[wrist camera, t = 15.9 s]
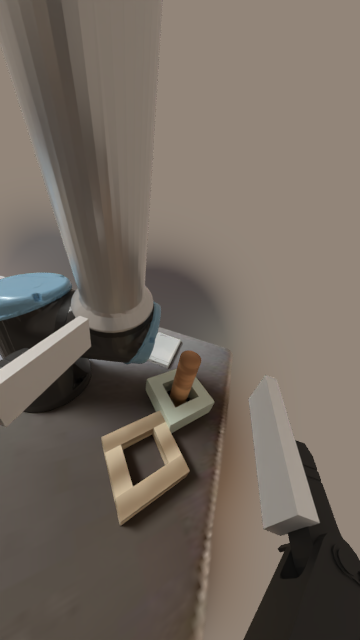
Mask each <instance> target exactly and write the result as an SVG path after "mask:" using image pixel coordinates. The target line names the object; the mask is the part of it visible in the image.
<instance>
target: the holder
mask: <svg viewBox="0 0 360 640" xmlns="http://www.w3.org/2000/svg"><path fill="white" fill-rule="evenodd" d="M150 435H153V438H154V440H155V442H156V445H157V447H158V449H159V452H160V454H161V457H162V459H163V461H164V464H165V466H164V467H162V468H161V469H159V470H158V471H156V472H155V473H153V474H152V475H150V476H149V477H147V478H146V479H144V480H142V481H141V482H139V483H138V484H136V485H135V486H133V485H132V481H131V478H130V475H129V471H128V468H127V464H126V461H125V457H124V454H123V449H125V448H127V447H129V446H131V445H133V444H135V443H137V442H139V441H141V440H142V439H144V438H146V437H148V436H150ZM102 446H103V450H104V455H105V459H106V464H107V469H108V473H109V478H110V482H111V487H112V491H113V496H114V500H115V505H116V510H117V514H118V519H119V523H120V526H121V525H122V524H124V523H125V522H126V521H128V520H129V519H130V518H132V517H133V516H134V515H136V514H137V513H138V512H140V511H141V510H142V509H144V508H145V507H146V506H148V505H149V504H150V503H152V502H153V501H154V500H156V499H157V498H158V497H160V496H161V495H162V494H164V493H165V492H166V491H168V490H169V489H170V488H172V487H173V486H174V485H176V484H177V483H178V482H180V481H181V480H182V479H184V478H185V477H186V476H187V475H188V473H189V472H190V470H189V468H188V466H187V464H186V462H185V460H184V458H183V456H182V454H181V452H180V450H179V448H178V446H177V444H176V442H175V440H174V438H173V436H172V434H171V432H170V430H169V428H168V426H167V424H166V422H165V420H164V418H163V416H162V414H161V411H160V410H159V411H157V412H155V413H153V414H151V415H149V416H146V417H144V418H142V419H140V420H138V421H136V422H133V423H131V424H129V425H127V426H125V427H123V428H120V429H118V430H116V431H114V432H112V433H110V434H107V435H105V436H103V437H102Z"/></svg>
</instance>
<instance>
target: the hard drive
mask: <svg viewBox="0 0 360 640" xmlns="http://www.w3.org/2000/svg"><path fill="white" fill-rule="evenodd" d="M180 343H181V340H179V339H176V338H174V337H171V336H168V335H165V334H162V333H158V334H157V336H156V339H155V344H154V348H153V351H152V353H151V356H150V358H149V359H148V360H147V361H149V362H152V363H154V364H157V365H160V366H162V367H165V368H167V369H168V367H169V365H170V363H171V361H172V359H173V357H174V355H175V353H176V351H177V349H178V347H179V345H180Z"/></svg>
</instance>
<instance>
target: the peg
mask: <svg viewBox="0 0 360 640" xmlns="http://www.w3.org/2000/svg"><path fill="white" fill-rule="evenodd" d="M200 363H201V358H200V356H199V355H198V354H197V353H195V352H193V351H184V352H183V353H182V354H181V356H180V360H179V363H178V367H177V370H176V374H175V377H174V381H173V385H172V388H171V392H170V395H169V397H170V399H171V401H172V402H173V404H174V406H175V408H176V407H178V406H180V405H182V404H184V403H186V400H187V398H188V395H189V392H190V390H191V387H192V385H193V382H194V379H195V377H196V374H197V371H198V369H199V366H200Z"/></svg>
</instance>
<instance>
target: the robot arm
mask: <svg viewBox="0 0 360 640" xmlns="http://www.w3.org/2000/svg"><path fill="white" fill-rule="evenodd" d="M162 1H163V0H0V45H1V49H2V52H3V55H4V58H5V61H6V65H7V68H8V71H9V74H10V77H11V80H12V83H13V86H14V90H15V93H16V96H17V99H18V102H19V105H20V108H21V112H22V115H23V118H24V121H25V124H26V127H27V130H28V134H29V137H30V140H31V143H32V146H33V149H34V152H35V156H36V159H37V162H38V165H39V168H40V171H41V174H42V177H43V181H44V184H45V187H46V190H47V193H48V196H49V199H50V203H51V206H52V209H53V212H54V215H55V218H56V221H57V225H58V228H59V231H60V234H61V237H62V240H63V243H64V247H65V250H66V253H67V256H68V259H69V262H70V265H71V268H72V272H73V275H74V278H75V281H76V284H77V287H78V289H77V290H73V289H71V288H72V284H71V283H70V281H69V279H68V278H66V277H65V276H63V275H60V274H55V273H30V274H21V275H16V276H11V277H7V278H3V279H0V355H1V356H2V358H3V360H1V361H0V425H1V426H4V427H7V426H8V425H9V424H10V423H11V422H12V421H14V420H15V419H16V418H17V417H18V416H19V415H20V414H21V413H22V412H23V411H25V412H43V411H48V410H52V409H55V408H58V407H60V406H62V405H64V404H66V403H68V402H70V401H71V400H73V399H74V398H76V397H77V396H78V395H79V394H80V393H81V392H82V391H83V390H84V389H85V388H86V386H87V385H88V383H89V381H90V378H91V365H90V362H89V359H97V360H105V361H114V362H123V363H125V364H130V363H137V364H142V363H145V362H146V361H147V360H148V359H149V358H150V356H151V353H152V351H153V348H154V344H155V339H156V336H157V333H158V328H159V323H160V315H161V307H160V305H159V304H157V303H155V302H153V298H152V294H151V293H150V291H149V289H148V288H147V287H146V286H145V272H146V271H145V270H146V256H147V240H148V224H149V223H148V222H149V208H150V192H151V176H152V160H153V143H154V127H155V112H156V97H157V81H158V65H159V48H160V32H161V16H162ZM249 407H250V415H251V425H252V433H253V442H254V450H255V460H256V469H257V477H258V486H259V495H260V504H261V513H262V521H263V529H265V530H267V531H270V532H272V533H275V534H277V535H280V536H281V535H285V534H288V536H289V541H290V543H288V544H284V545H281V546H280V547H279V548H278V550H279V552H283V551H285V552H284V554H283V556H282V558H281V560H280V562H279V564H278V567H277V569H276V571H275V573H274V575H273V578H272V580H271V582H270V584H269V586H268V588H267V590H266V592H265V595H264V597H263V599H262V601H261V603H260V605H259V607H258V610H257V612H256V614H255V616H254V618H253V621H252V623H251V625H250V627H249V629H248V631H247V633H246V635H245V638H244V640H360V560H359V559H358V557H357V555H356V553H355V552H354V551H353V549H352V548H351V547H350V545H349V544H348V543H347V542H346V541H345V540H344V539H343V538H342V536H341V534H340V532H339V529H338V527H337V524H336V521H335V518H334V516H333V513H332V510H331V507H330V505H329V502H328V499H327V496H326V493H325V490H324V487H323V485H322V483H321V479H320V476H319V473H318V472H317V467H316V465H315V462H314V459H313V456H312V455H311V453H310V451H309V450H308V448H307V447H306V445H305V444H304V443H301V442H299V441H296V440H295V438H294V435H293V432H292V428H291V425H290V422H289V418H288V415H287V412H286V409H285V405H284V402H283V398H282V395H281V392H280V389H279V385H278V382H277V379H276V378H273V377H270V376H267V375H265V376H264V377H263V379H262V380H261V382H260V383H259V385H258V386H257V388H256V389H255V390H254V392H253V393H252V395H251V396H250V398H249Z"/></svg>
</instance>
